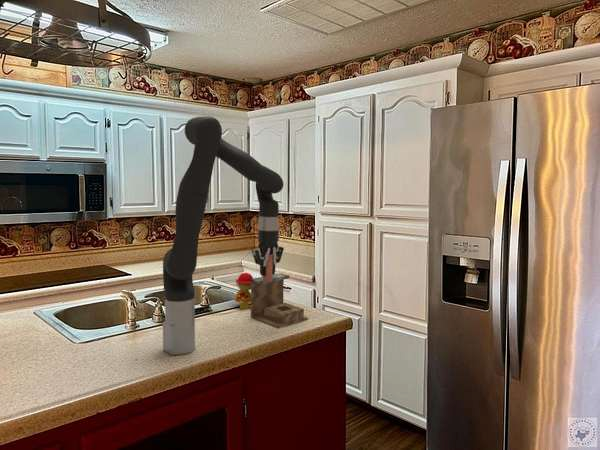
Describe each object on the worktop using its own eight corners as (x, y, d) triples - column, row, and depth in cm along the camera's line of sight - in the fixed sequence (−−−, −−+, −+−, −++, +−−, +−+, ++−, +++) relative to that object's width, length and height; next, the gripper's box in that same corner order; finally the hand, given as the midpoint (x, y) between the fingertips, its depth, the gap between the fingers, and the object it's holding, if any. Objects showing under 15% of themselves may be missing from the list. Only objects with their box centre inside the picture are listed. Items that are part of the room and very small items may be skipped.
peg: (266, 282, 161) (267, 255, 160) (260, 280, 163) (261, 253, 162) (274, 281, 163) (274, 254, 162) (268, 279, 166) (268, 253, 165)
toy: (254, 311, 186) (254, 276, 184) (232, 310, 186) (232, 275, 184) (257, 303, 197) (257, 270, 195) (236, 303, 197) (237, 269, 196)
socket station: (277, 328, 166) (278, 287, 164) (250, 317, 178) (251, 278, 176) (308, 319, 177) (309, 280, 175) (280, 309, 189) (281, 273, 187)
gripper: (259, 231, 154) (258, 279, 156) (289, 228, 164) (288, 274, 165) (246, 228, 159) (246, 276, 161) (276, 226, 169) (275, 271, 171)
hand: (267, 274), depth 163 cm, fingers closed on peg, 3 cm apart
